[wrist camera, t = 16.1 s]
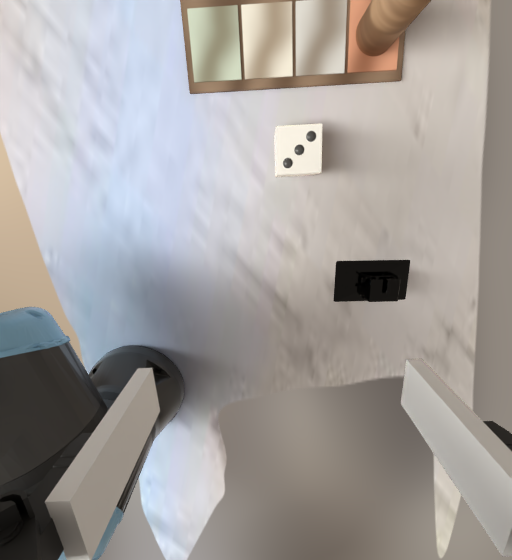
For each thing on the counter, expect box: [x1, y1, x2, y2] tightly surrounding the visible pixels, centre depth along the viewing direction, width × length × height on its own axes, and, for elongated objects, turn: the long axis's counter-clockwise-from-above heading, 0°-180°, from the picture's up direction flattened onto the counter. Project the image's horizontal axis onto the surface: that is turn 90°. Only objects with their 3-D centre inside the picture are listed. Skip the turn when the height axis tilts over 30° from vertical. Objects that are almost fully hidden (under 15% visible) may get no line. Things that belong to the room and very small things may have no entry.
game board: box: [180, 0, 406, 94], centre depth 32 cm, size 25×9×1 cm, turn 93°
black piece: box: [334, 260, 410, 302], centre depth 39 cm, size 13×8×5 cm, turn 92°
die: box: [274, 124, 322, 177], centre depth 34 cm, size 5×5×5 cm
